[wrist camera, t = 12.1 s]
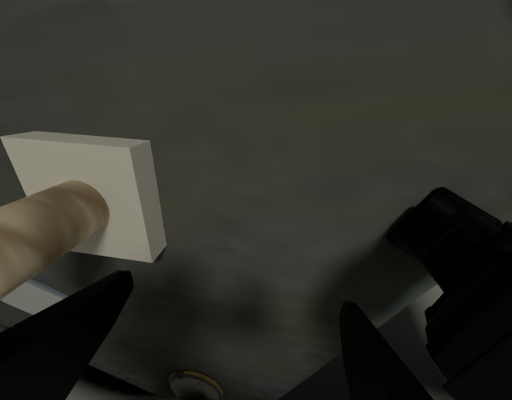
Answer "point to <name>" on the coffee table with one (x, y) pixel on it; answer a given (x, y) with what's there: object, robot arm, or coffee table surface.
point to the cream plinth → (98, 186)
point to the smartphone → (33, 297)
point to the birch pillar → (46, 229)
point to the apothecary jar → (194, 386)
